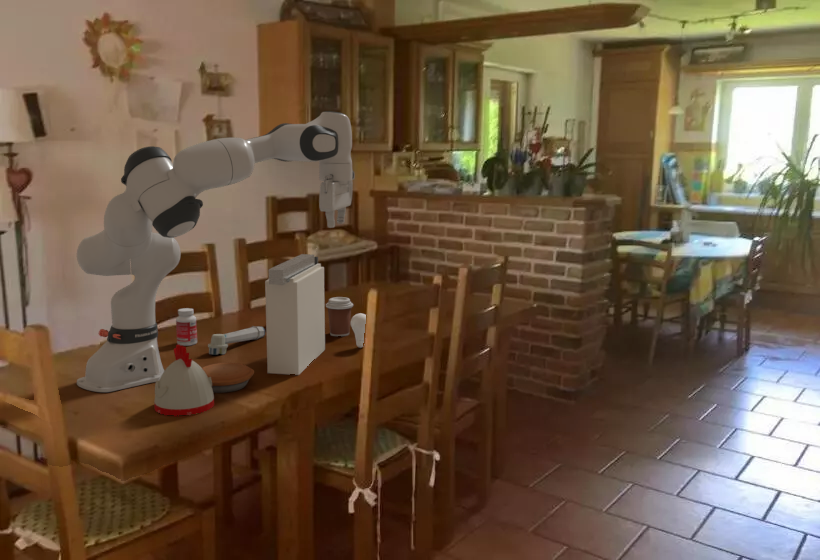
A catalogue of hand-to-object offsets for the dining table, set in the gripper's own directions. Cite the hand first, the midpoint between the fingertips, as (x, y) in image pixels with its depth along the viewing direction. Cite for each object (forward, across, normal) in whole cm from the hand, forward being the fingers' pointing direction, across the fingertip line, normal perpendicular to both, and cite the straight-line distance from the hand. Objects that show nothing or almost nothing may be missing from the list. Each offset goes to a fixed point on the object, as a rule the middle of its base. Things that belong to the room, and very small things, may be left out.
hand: (336, 225), depth 200 cm
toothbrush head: (+42, +19, +38) cm, 59 cm away
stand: (+41, +8, +14) cm, 44 cm away
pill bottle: (+41, +18, +54) cm, 71 cm away
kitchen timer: (+41, -34, +29) cm, 61 cm away
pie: (+42, -18, +26) cm, 52 cm away
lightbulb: (+41, +25, -1) cm, 48 cm away
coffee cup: (+41, +40, +10) cm, 58 cm away
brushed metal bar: (+15, +5, +14) cm, 21 cm away
